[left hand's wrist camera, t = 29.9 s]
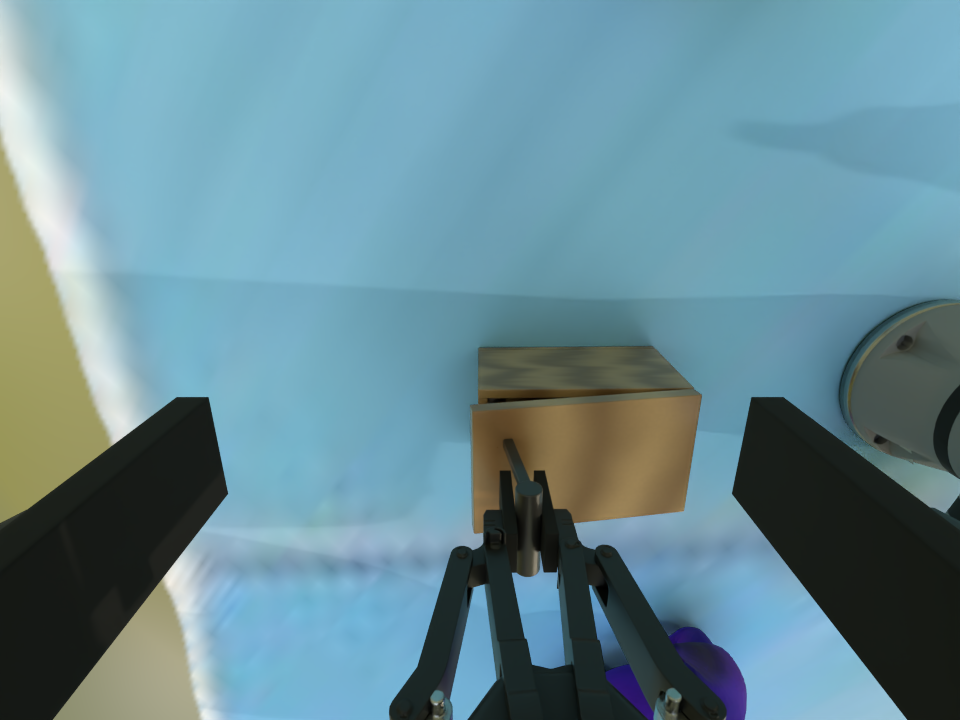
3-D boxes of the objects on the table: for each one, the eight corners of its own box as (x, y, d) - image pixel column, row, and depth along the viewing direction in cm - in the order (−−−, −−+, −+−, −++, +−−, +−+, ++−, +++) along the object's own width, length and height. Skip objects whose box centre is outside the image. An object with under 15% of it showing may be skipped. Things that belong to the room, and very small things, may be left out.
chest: (479, 443, 51) (479, 503, 42) (478, 347, 47) (478, 389, 38) (642, 442, 51) (677, 502, 42) (653, 345, 47) (694, 388, 38)
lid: (471, 524, 39) (489, 609, 32) (469, 404, 36) (489, 467, 28) (676, 502, 42) (739, 577, 34) (693, 388, 38) (767, 443, 31)
